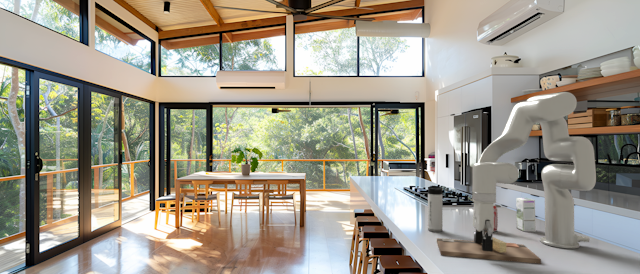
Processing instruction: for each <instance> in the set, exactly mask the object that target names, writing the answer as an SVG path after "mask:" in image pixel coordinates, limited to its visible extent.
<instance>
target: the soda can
mask: <svg viewBox="0 0 640 274" xmlns="http://www.w3.org/2000/svg"><path fill="white" fill-rule="evenodd" d="M493 209H494V231H493V232H492V233H494V232H496V231H498V227H499V225H498V223H499V222H498V218H499V217H498V208H497V205H496V203H494V204H493Z"/></svg>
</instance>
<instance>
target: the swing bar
mask: <svg viewBox="0 0 640 274" xmlns="http://www.w3.org/2000/svg"><path fill="white" fill-rule="evenodd" d="M485 235H486V233H485ZM475 239H476V230H475V231H473V241H474V242H475ZM506 243H507V242H506V241H504V240H500V239H498V238H496V237H494V236H493V249H494V250H496V251H498V252H506Z"/></svg>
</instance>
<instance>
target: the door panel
mask: <svg viewBox="0 0 640 274" xmlns="http://www.w3.org/2000/svg"><path fill="white" fill-rule="evenodd" d="M436 244H437V247H438V251H439V253H440V256H445V257H446V256H447V257H456V258H458V257H459V258H467V259H468V258H469V259H470V258H471V259H481V260H482V259H483V260H490V261H491V260H495V261H504V262H516V263H518V262H519V263H526V264H527V263H529V264H539V265H541V264H542V258H540V256H538V255H536V254H535V252H533V251H532V250H531V249H529V248H528V247H527V246H526V245H524V244H521V243H514V242H506V252H498V251H496V250H494V249H493V251H492V252H490V251H483V250H482V244H481V243H476V242H474V240H467V239H466V240H465V239H454V238H445V237H442V238H439V237H436Z"/></svg>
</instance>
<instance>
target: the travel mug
mask: <svg viewBox="0 0 640 274" xmlns="http://www.w3.org/2000/svg"><path fill="white" fill-rule="evenodd" d="M427 191H428V192H427V231H429V232H432V233H441V232H443V188H442V187H440V186H436V185H430V186H428V187H427Z"/></svg>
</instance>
